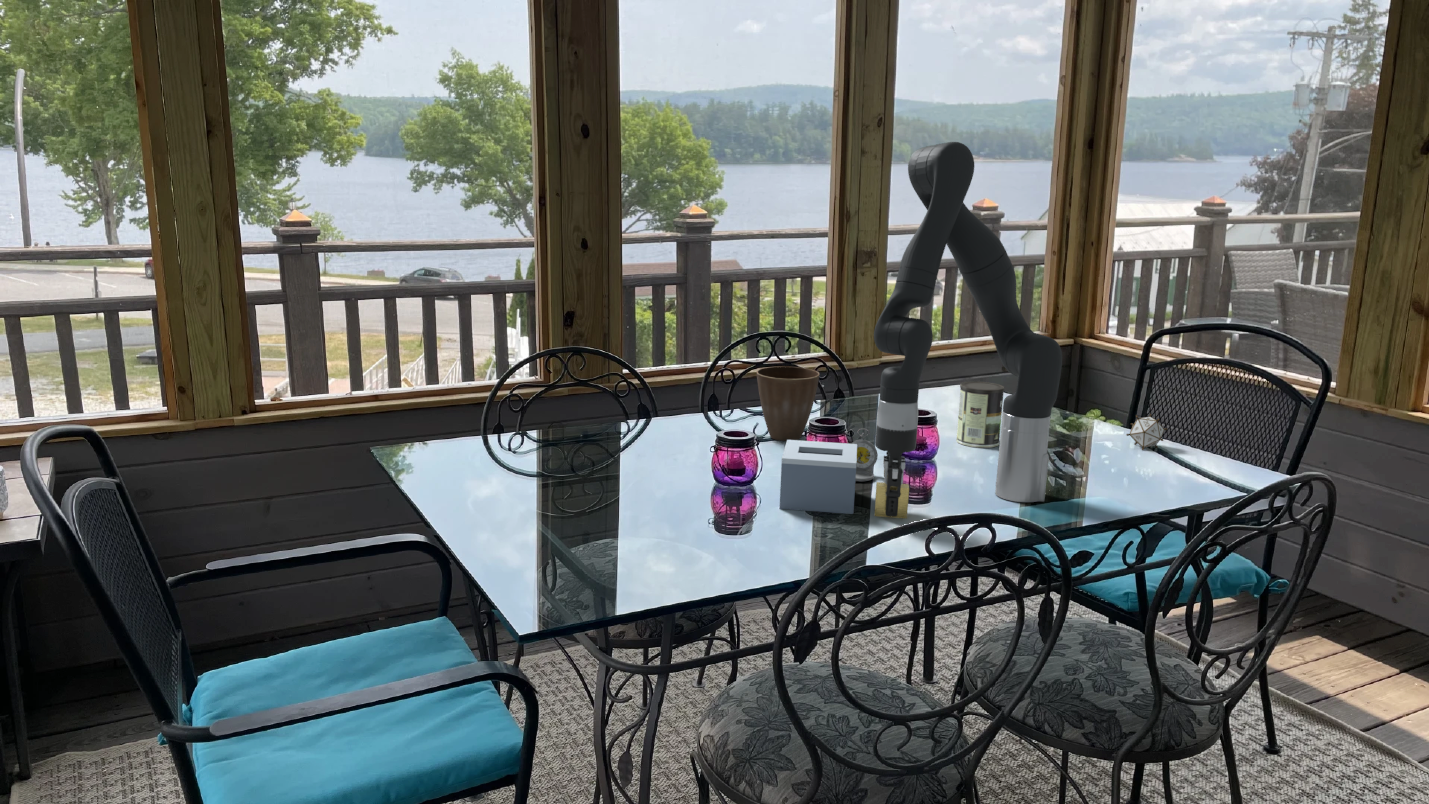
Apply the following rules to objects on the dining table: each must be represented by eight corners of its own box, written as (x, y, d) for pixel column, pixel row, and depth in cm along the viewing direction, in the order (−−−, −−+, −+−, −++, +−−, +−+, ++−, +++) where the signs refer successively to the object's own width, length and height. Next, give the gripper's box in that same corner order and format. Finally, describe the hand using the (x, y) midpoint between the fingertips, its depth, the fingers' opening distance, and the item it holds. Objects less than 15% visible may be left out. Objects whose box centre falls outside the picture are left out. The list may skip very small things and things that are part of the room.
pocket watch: (849, 483, 219) (852, 437, 217) (834, 472, 227) (836, 427, 224) (885, 481, 221) (888, 435, 219) (869, 470, 229) (872, 425, 227)
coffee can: (993, 437, 260) (998, 381, 257) (1004, 448, 250) (1009, 390, 247) (951, 436, 260) (956, 380, 257) (960, 447, 250) (965, 389, 247)
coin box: (854, 491, 213) (857, 444, 211) (853, 514, 200) (856, 463, 198) (784, 487, 215) (787, 439, 213) (779, 508, 202) (781, 458, 199)
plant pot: (794, 449, 244) (797, 381, 240) (741, 437, 253) (744, 372, 249) (827, 437, 256) (831, 372, 252) (776, 426, 264) (779, 363, 261)
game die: (1151, 464, 254) (1177, 438, 247) (1119, 451, 254) (1144, 424, 247) (1148, 438, 261) (1173, 412, 254) (1117, 425, 260) (1141, 399, 253)
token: (906, 514, 201) (908, 484, 199) (906, 518, 198) (909, 488, 197) (874, 512, 202) (876, 482, 200) (874, 516, 199) (876, 485, 198)
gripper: (919, 434, 189) (912, 525, 192) (915, 416, 202) (909, 501, 206) (876, 431, 190) (871, 522, 193) (876, 413, 203) (870, 498, 207)
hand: (890, 510), depth 200 cm, fingers open, 4 cm apart
